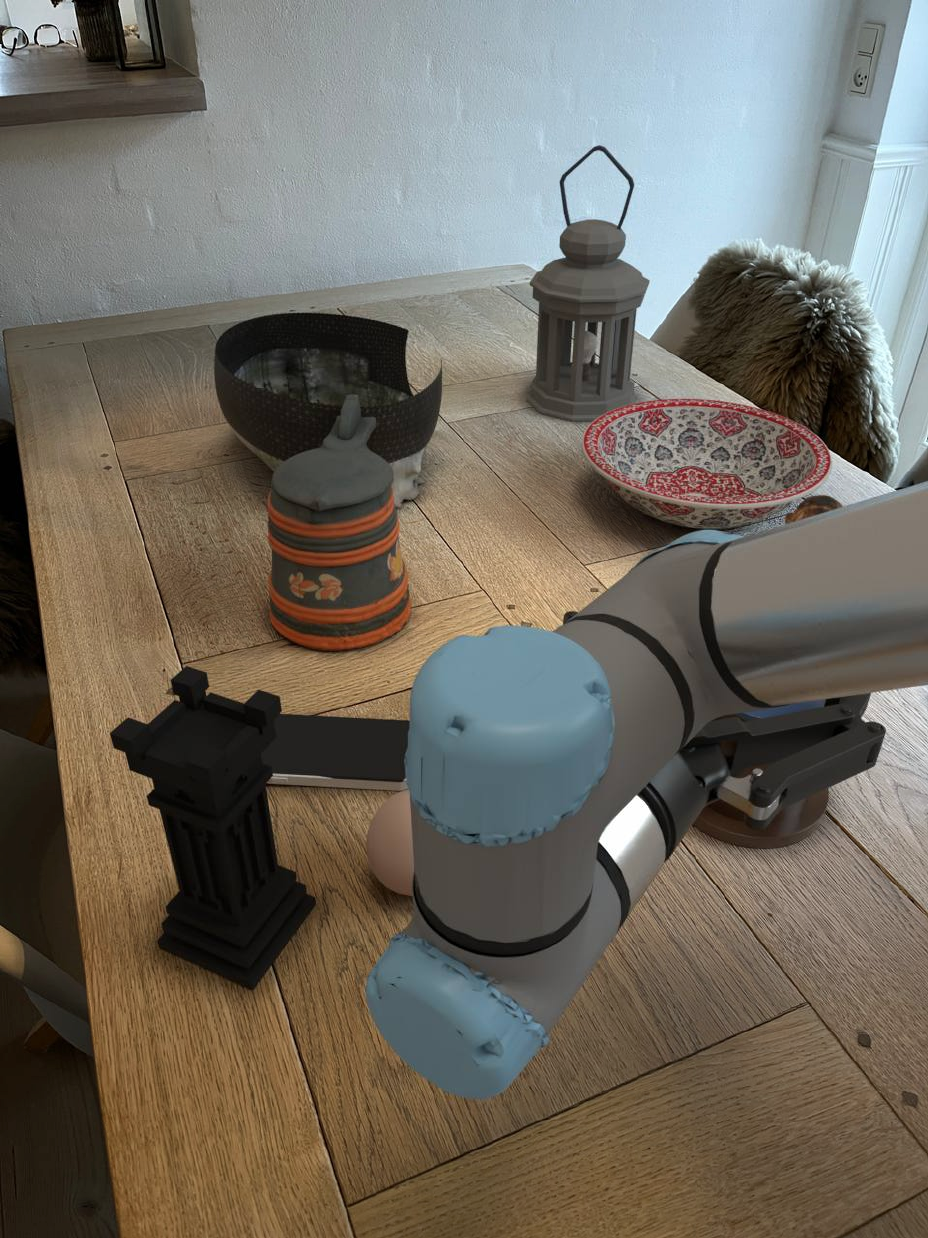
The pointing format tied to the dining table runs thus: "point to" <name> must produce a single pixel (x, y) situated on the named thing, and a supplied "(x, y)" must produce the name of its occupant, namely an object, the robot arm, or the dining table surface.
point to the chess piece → (218, 828)
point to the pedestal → (786, 824)
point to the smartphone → (338, 752)
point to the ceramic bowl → (705, 460)
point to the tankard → (336, 542)
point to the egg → (392, 844)
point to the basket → (324, 388)
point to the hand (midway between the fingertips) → (758, 621)
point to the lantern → (586, 318)
